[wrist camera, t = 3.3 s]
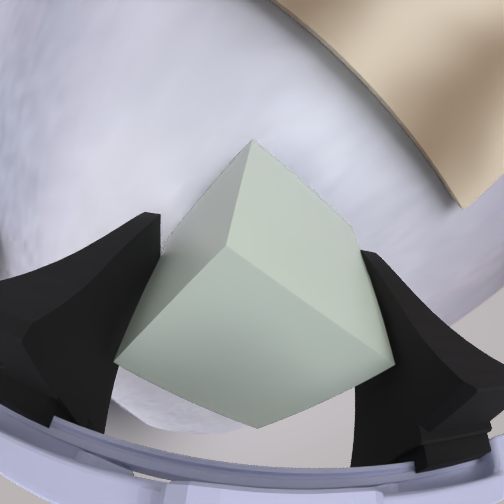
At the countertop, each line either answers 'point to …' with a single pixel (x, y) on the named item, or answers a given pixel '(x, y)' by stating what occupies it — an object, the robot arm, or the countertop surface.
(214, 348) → the pale green block
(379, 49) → the board
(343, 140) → the countertop surface
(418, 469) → the robot arm
